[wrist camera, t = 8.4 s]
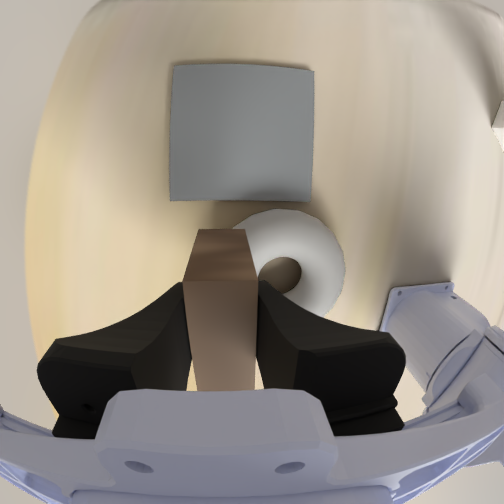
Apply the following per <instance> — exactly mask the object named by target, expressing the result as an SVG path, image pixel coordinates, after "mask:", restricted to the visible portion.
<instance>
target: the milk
mask: <svg viewBox="0 0 504 504" xmlns="http://www.w3.org/2000/svg"><path fill="white" fill-rule="evenodd" d="M492 129H493V131H494V133H495V135H496V137H497V139H498V142H499V144H500V146H501V148H502V150H503V152H504V100H502V101H501V104H500V107H499V110H498V112H497V115H496V117H495V120H494V122H493V125H492Z"/></svg>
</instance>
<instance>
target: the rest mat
mask: <svg viewBox="0 0 504 504" xmlns="http://www.w3.org/2000/svg"><path fill="white" fill-rule="evenodd" d="M313 139H314V71H310V70H303V69H296V68H287V67H278V66H267V65H251V64H192V65H176V66H174V71H173V83H172V98H171V118H170V164H169V169H170V201H194V200H258V201H296V202H310V201H311V185H312V165H313Z"/></svg>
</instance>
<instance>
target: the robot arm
mask: <svg viewBox="0 0 504 504" xmlns="http://www.w3.org/2000/svg"><path fill="white" fill-rule="evenodd" d="M453 289H454V283H453V282H445V283H436V284H427V285H416V286H406V287H395V288H393V289H392V290H391V291H390V294H389V298H388V302H387V306H386V309H385V313H384V317H383V320H382V324H381V327H380V331H373V330H365V329H360V328H356V327H351V326H347V325H343V324H340V323H337V322H334V321H331V320H328V319H325V318H323V317H320V316H318V315H316V314H314V313H312V312H310V311H308V310H306V309H304V308H302V307H300V306H299V305H297V304H296V303H294V302H292V301H291V300H290V299H288V298H287V297H285V296H284V295H283V294H281V293H280V292H279V291H277V290H276V289H275V288H274V287H272V286H271V285H270V284H269V283H268V282H266V281H265V280H264V281H258V305H257V334H256V358H257V362H258V366H259V369H260V373H261V377H262V381H263V385H264V389H260V390H242V391H186V389H187V381H188V376H189V371H190V366H191V361H192V354H191V347H190V340H189V333H188V326H187V318H186V310H185V301H184V292H183V282H178V283H177V284H175V285H174V286H173V287H171V288H170V289H169V290H168V291H167V292H165V293H164V294H163V295H162V296H160V297H159V298H158V299H157V300H155V301H154V302H152V303H151V304H150V305H148V306H147V307H145V308H144V309H142V310H141V311H139V312H137V313H136V314H134V315H132V316H130V317H128V318H127V319H124V320H122V321H120V322H118V323H115V324H113V325H110V326H108V327H105V328H103V329H99V330H96V331H93V332H89V333H86V334H81V335H76V336H71V337H65V338H58V339H55V341H54V342H53V344H52V345H51V346H50V348H49V349H48V350H47V352H46V353H45V355H44V356H43V357H42V359H41V360H40V362H39V363H38V367H37V374H38V379H39V381H40V384H41V386H42V388H43V390H44V391H45V393H46V395H47V397H48V398H49V400H50V401H51V403H52V405H53V406H54V408H55V409H56V411H57V412H58V414H59V417H58V419H57V422H56V424H55V426H54V428H53V431H52V430H49V429H47V428H44V427H41V426H38V425H36V424H33V423H30V422H28V421H26V420H23V419H21V418H19V417H16V416H14V415H12V414H10V413H8V412H6V411H4V410H3V408H2V406H1V405H0V476H1V477H3V478H4V479H6V480H7V481H9V482H10V483H12V484H13V485H15V486H17V487H19V488H20V489H22V490H23V491H25V492H27V493H28V494H30V495H32V496H34V497H35V498H37V499H39V500H41V501H43V502H45V503H47V504H404V503H405V502H407V501H409V500H411V499H413V498H415V497H417V496H418V495H420V494H422V493H424V492H426V491H427V490H429V489H431V488H432V487H434V486H435V485H437V484H438V483H440V482H442V481H443V480H445V479H446V478H448V477H449V476H451V475H452V474H454V473H455V472H457V471H458V470H460V469H461V468H463V467H473V466H478V465H483V464H487V463H492V462H500V463H501V464H502V465H503V466H504V331H503V330H501V329H500V328H499V327H497V326H496V325H494V326H491V327H490V324H489V322H488V320H487V318H486V317H485V316H484V315H483V314H482V313H481V312H480V311H478V310H477V309H476V308H474V307H473V306H472V305H470V304H469V303H468V302H466V301H465V300H463V299H462V298H461V297H459V296H458V295H457V294H455V293H454V292H453ZM399 291H400V292H399ZM398 292H399V293H398ZM405 366H406V368H407V369H408V370H409V371H410V373H411V374H412V375H413V377H414V378H415V379H416V381H417V382H418V383H419V385H420V386H421V387H422V389H423V390H424V391H425V393H426V394H425V395H424V396H423V397H422V400H423V402H424V403H425V405H426V406H427V407H426V408H425V409H424V411H423V414H422V416H419V417H417V418H414V419H412V420H409V421H407V422H403V421H402V419H401V417H400V416H399V414H398V412H397V411H396V409H395V407H396V406H397V405H398V402H397V400H396V398H395V397H394V395H393V394H394V392H395V389H396V387H397V385H398V383H399V381H400V379H401V377H402V374H403V372H404V369H405Z"/></svg>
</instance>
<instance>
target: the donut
mask: <svg viewBox="0 0 504 504" xmlns="http://www.w3.org/2000/svg"><path fill="white" fill-rule="evenodd" d="M232 229H245V231H246V235H247V239H248V243H249V246H250V250H251V254H252V258H253V262H254V266H255V269H256V273H257V277H258V275H259V272H260V270H261V268H262V267H263V266H264V265H265V264H266V263H267V262H269V261H270V260H272V259H275V258H278V257H289V258H292V259H295V260H296V261H297V262H298V263H299V265H300V266H301V270H302V273H301V278H300V281H299V283H298V284H297V285H296V286H295V287H294V288H293V289H292V290H290V291H289V292H287V293H284V294H283V295H284V296H285V297H287V298H288V299H290V300H291V301H292V302H294V303H296V304H297V305H299V306H300V307H302V308H304V309H306V310H308V311H310V312H312V313H314V314H316V315H318V316H320V317H324V316H325V315H326V314H327V313H328V312H329V311H330V310H331V309H332V308H333V306H334V304H335V303H336V301H337V299H338V297H339V295H340V293H341V291H342V286H343V281H344V276H345V262H344V255H343V250H342V249H341V247H340V245H339V243H338V241H337V239H336V237H335V235H334V233H333V232H332V231H331V230H330V229H329V228H328V227H327V226H326V225H324V224H323V223H322V222H321V221H320V220H319V219H318V218H316V217H313V216H311V215H309V214H306V213H304V212H301V211H299V210H288V209H271V210H268V211H264V212H260V213H257V214H253V215H251V216H250V217H248V218H247V219H245V220H244V221H242V222H240V223H239V224H237V225H236V226H234V227H233V228H232Z"/></svg>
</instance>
